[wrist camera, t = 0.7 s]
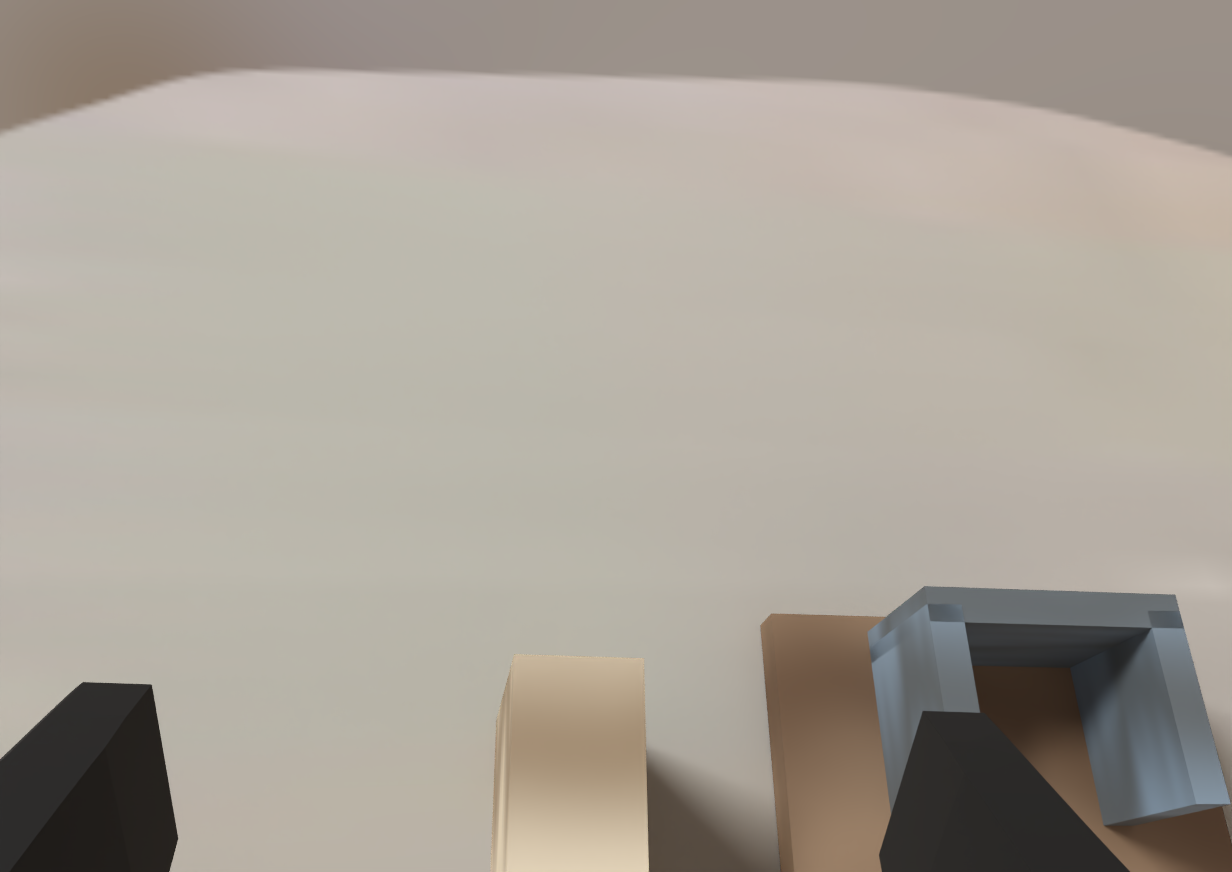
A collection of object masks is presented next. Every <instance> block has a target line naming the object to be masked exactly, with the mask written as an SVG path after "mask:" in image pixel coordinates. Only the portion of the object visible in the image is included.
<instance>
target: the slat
mask: <svg viewBox="0 0 1232 872" xmlns="http://www.w3.org/2000/svg"><path fill="white" fill-rule="evenodd" d="M491 872H649V858H648V814H647V771H646V727H645V684H644V658H617V657H585V656H553V655H522V654H514V657H513V661H512V665H511V668H510V672H509V676H508V679H507V683H506V687H505V690H504V694H503V698H502V702H501V705H500V709H499V713H498V716H497V720H496V743H495V769H494V795H493V821H492V846H491Z"/></svg>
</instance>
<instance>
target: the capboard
mask: <svg viewBox="0 0 1232 872" xmlns="http://www.w3.org/2000/svg"><path fill="white" fill-rule="evenodd" d="M760 626H761V638H762V650H763V662H764V674H765V686H766V698H767V710H768V722H769V734H770V746H771V758H772V770H773V782H774V794H775V806H776V818H777V830H778V842H779V854H780V866H781V872H882V870H881V864H880V859H879V853H880V849H881V846H882V843H883V839H884V836H885V833H886V830H887V826H888V823H889V820H890V816H891V813H892V810H893V807H894V803H895V800H896V797H897V794H898V790H899V787H900V784H901V780H902V777H903V774H904V771H905V767H906V764H907V761H908V757H909V754H910V751H911V748H912V744H913V741H914V738H915V735H916V731H917V728H918V725H919V721H920V718H921V715H922V712H923V711H945V712H974V713H985V714H986V715H987V716H988V717H989V718H990V719H991V720H992V721H993V723H994V724H995V725H996V726H997V727H998V728H999V729H1000V730H1001V731H1002V732H1003V733H1004V734H1005V735H1006V737H1007V738H1008V739H1009V740H1010V741H1011V742H1012V743H1013V744H1014V745H1015V746H1016V748H1017V749H1018V750H1019V751H1020V752H1021V753H1022V754H1023V755H1024V756H1025V757H1026V759H1027V760H1028V761H1029V762H1030V763H1031V764H1032V765H1033V766H1034V767H1035V769H1036V770H1037V771H1038V772H1039V773H1040V774H1041V775H1042V776H1043V777H1044V779H1045V780H1046V781H1047V782H1048V783H1049V784H1050V785H1051V786H1052V787H1053V788H1054V790H1055V791H1056V792H1057V793H1058V794H1059V795H1060V796H1061V797H1062V798H1063V800H1064V801H1065V802H1066V803H1067V804H1068V805H1069V806H1070V807H1071V808H1072V809H1073V810H1074V812H1075V813H1076V814H1077V815H1078V816H1079V817H1080V818H1081V819H1082V820H1083V821H1084V822H1085V824H1086V825H1087V826H1088V827H1089V828H1090V829H1091V830H1092V831H1093V832H1094V833H1095V834H1096V836H1097V837H1098V838H1099V839H1100V840H1101V841H1102V842H1103V843H1104V844H1105V845H1106V846H1107V847H1108V848H1109V849H1110V851H1111V852H1112V853H1113V854H1114V855H1115V856H1116V857H1117V858H1118V859H1119V860H1120V861H1121V862H1122V863H1123V864H1124V866H1125V867H1126V868H1127V869H1128V870H1129V871H1130V872H1232V843H1231V840H1230V836H1229V832H1228V828H1227V824H1226V820H1225V817H1224V813H1223V809H1222V806H1225V805H1229V804H1231V803H1230V799H1229V795H1228V792H1227V788H1226V784H1225V780H1224V777H1223V773H1222V769H1221V765H1220V762H1219V758H1218V754H1217V750H1216V747H1215V743H1214V739H1213V735H1212V732H1211V728H1210V724H1209V720H1208V716H1207V713H1206V709H1205V705H1204V701H1203V698H1202V694H1201V690H1200V686H1199V683H1198V679H1197V675H1196V671H1195V668H1194V664H1193V660H1192V656H1191V653H1190V649H1189V645H1188V641H1187V637H1186V634H1185V630H1184V626H1183V622H1182V619H1181V615H1180V611H1179V607H1178V604H1177V600H1176V596H1175V595H1166V594H1136V593H1107V592H1078V591H1048V590H1019V589H989V588H960V587H930V586H924V587H923V588H922V589H921V590H919V591H918V592H917V593H916V594H914V595H913V596H912V597H911V598H909V599H908V600H907V601H906V602H904V603H903V604H902V605H901V606H899V607H898V608H897V609H896V610H894V611H893V612H892V613H890V614H889V615H888V616H887V617H869V616H835V615H801V614H771V615H770V616H769V617H768V618H767V619H766V620H765V621H764V622H763V623H762V624H761V625H760Z"/></svg>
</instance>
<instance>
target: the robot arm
mask: <svg viewBox="0 0 1232 872" xmlns="http://www.w3.org/2000/svg"><path fill="white" fill-rule="evenodd" d="M177 841H178V835H177V829H176V823H175V818H174V812H173V806H172V800H171V794H170V788H169V783H168V777H167V771H166V765H165V759H164V753H163V748H162V742H161V736H160V730H159V724H158V718H157V713H156V707H155V701H154V695H153V689H152V685H148V684H119V683H89V682H83V683H81V684H80V685H79V686H78V687H77V688H75V689H74V690H73V691H72V692H71V693H70V694H69V695H67V696H66V697H65V698H64V699H63V700H62V701H61V702H60V703H59V704H58V705H57V706H56V707H55V708H54V709H52V710H51V711H50V712H49V713H48V714H47V715H46V716H45V717H44V718H43V719H42V720H41V721H40V722H39V723H38V724H37V725H36V726H35V727H34V728H33V729H32V730H30V731H29V732H28V733H27V734H26V735H25V736H24V737H23V738H22V739H21V740H20V741H19V742H18V743H17V744H16V745H15V746H14V747H13V748H12V749H11V750H10V751H9V752H7V753H6V754H5V755H4V756H3V757H2V758H1V759H0V872H169V871H170V867H171V863H172V860H173V856H174V852H175V848H176V845H177ZM879 859H880V864H881V870H882V872H1130V871H1129V870H1128V869H1127V868H1126V867H1125V866H1124V864H1123V863H1122V862H1121V861H1120V860H1119V859H1118V858H1117V857H1116V856H1115V855H1114V854H1113V853H1112V852H1111V851H1110V849H1109V848H1108V847H1107V846H1106V845H1105V844H1104V843H1103V842H1102V841H1101V840H1100V839H1099V838H1098V837H1097V836H1096V834H1095V833H1094V832H1093V831H1092V830H1091V829H1090V828H1089V827H1088V826H1087V825H1086V824H1085V822H1084V821H1083V820H1082V819H1081V818H1080V817H1079V816H1078V815H1077V814H1076V813H1075V812H1074V810H1073V809H1072V808H1071V807H1070V806H1069V805H1068V804H1067V803H1066V802H1065V801H1064V800H1063V798H1062V797H1061V796H1060V795H1059V794H1058V793H1057V792H1056V791H1055V790H1054V788H1053V787H1052V786H1051V785H1050V784H1049V783H1048V782H1047V781H1046V780H1045V779H1044V777H1043V776H1042V775H1041V774H1040V773H1039V772H1038V771H1037V770H1036V769H1035V767H1034V766H1033V765H1032V764H1031V763H1030V762H1029V761H1028V760H1027V759H1026V757H1025V756H1024V755H1023V754H1022V753H1021V752H1020V751H1019V750H1018V749H1017V748H1016V746H1015V745H1014V744H1013V743H1012V742H1011V741H1010V740H1009V739H1008V738H1007V737H1006V735H1005V734H1004V733H1003V732H1002V731H1001V730H1000V729H999V728H998V727H997V726H996V725H995V724H994V723H993V721H992V720H991V719H990V718H989V717H988V716H987V715H986V714H985V713H974V712H945V711H923V712H922V715H921V718H920V721H919V725H918V728H917V731H916V735H915V738H914V741H913V744H912V748H911V751H910V754H909V757H908V761H907V764H906V767H905V771H904V774H903V777H902V780H901V784H900V787H899V790H898V794H897V797H896V800H895V803H894V807H893V810H892V813H891V816H890V820H889V823H888V826H887V830H886V833H885V836H884V839H883V843H882V846H881V849H880V853H879Z"/></svg>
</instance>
